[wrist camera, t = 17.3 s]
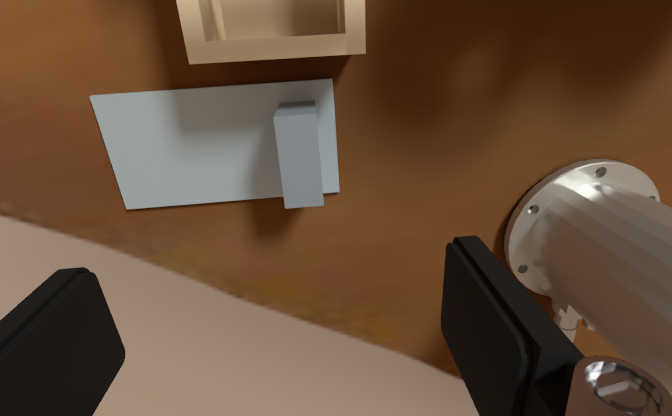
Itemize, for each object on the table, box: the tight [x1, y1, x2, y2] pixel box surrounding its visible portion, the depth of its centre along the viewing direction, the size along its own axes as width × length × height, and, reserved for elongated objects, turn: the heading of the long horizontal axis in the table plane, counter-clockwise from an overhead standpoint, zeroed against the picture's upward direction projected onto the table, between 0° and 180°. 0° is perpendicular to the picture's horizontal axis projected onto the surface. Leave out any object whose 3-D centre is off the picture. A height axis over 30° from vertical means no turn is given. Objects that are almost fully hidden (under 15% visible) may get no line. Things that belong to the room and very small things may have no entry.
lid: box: [89, 78, 339, 210], centre depth 24 cm, size 16×8×6 cm, turn 94°
